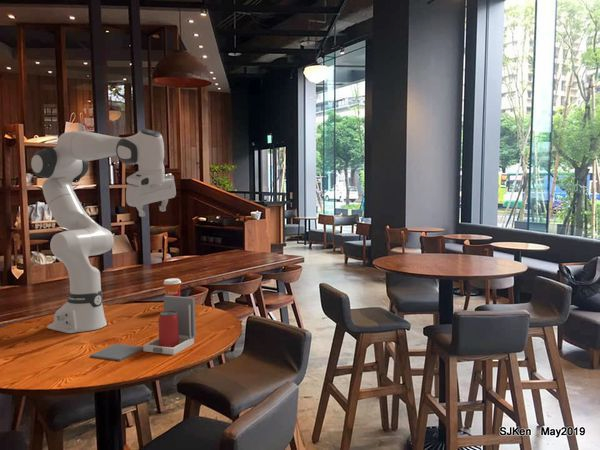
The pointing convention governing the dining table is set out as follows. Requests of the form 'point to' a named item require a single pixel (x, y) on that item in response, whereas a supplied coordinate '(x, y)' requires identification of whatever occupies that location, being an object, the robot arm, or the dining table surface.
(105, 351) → the rubber mat
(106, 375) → the dining table surface
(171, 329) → the beer can
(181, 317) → the case
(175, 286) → the paper cup
